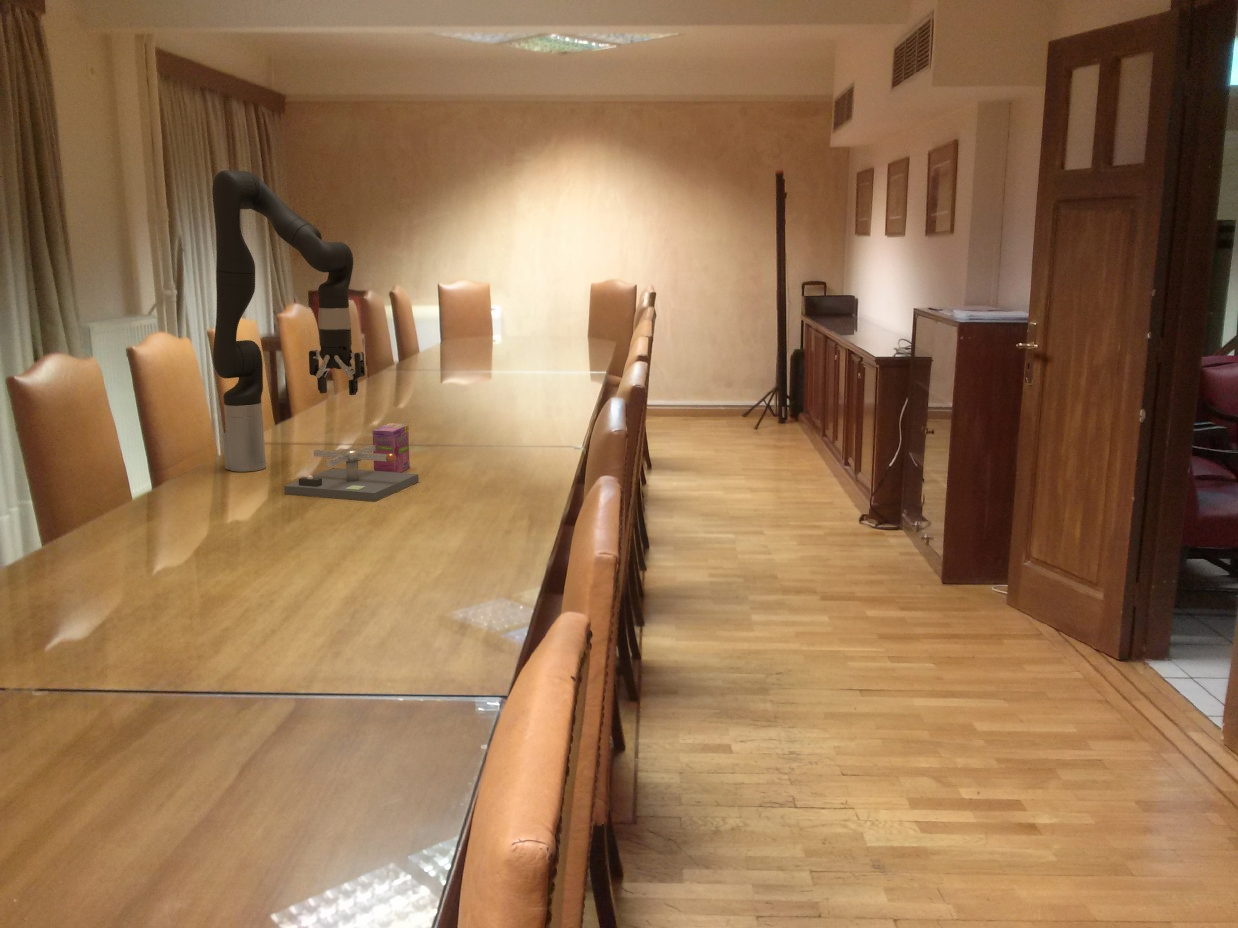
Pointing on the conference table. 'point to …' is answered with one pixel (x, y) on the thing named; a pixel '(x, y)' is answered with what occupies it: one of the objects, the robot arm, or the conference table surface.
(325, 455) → the capstan
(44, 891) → the conference table surface
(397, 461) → the box
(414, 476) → the stand
